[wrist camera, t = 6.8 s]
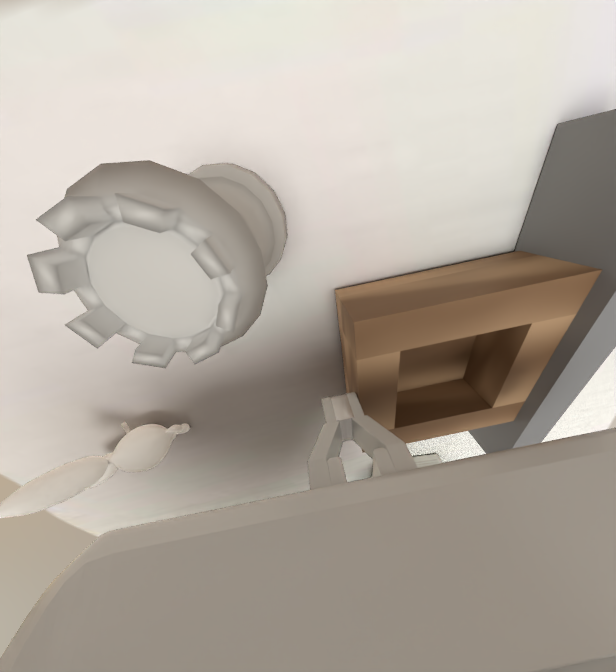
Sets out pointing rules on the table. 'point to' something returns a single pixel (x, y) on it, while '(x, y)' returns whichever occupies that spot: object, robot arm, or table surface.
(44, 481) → the rabbit figurine
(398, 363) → the socket block
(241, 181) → the rook chess piece
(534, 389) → the backstop board
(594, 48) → the table surface
